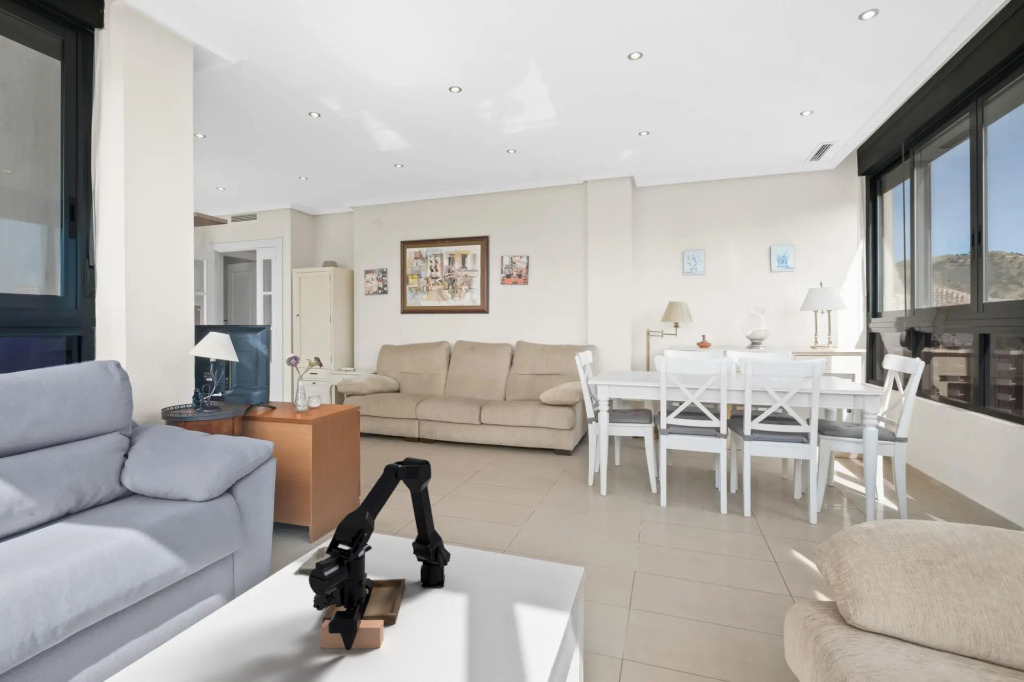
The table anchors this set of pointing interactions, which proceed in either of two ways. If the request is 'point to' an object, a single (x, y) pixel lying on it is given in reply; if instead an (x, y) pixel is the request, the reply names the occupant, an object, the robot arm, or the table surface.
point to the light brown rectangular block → (366, 636)
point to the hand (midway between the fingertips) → (352, 639)
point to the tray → (379, 601)
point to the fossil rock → (314, 560)
